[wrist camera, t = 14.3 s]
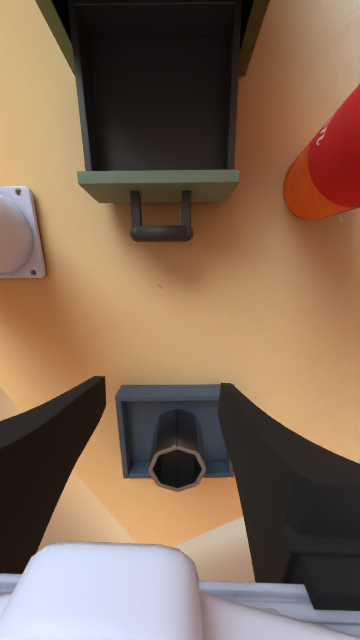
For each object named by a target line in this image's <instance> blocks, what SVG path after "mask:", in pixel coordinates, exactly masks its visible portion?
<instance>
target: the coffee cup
mask: <svg viewBox="0 0 360 640" xmlns="http://www.w3.org/2000/svg"><path fill="white" fill-rule="evenodd" d="M284 196H285V200H286V203H287V206H288V207H289V209H290V210H291V211H292V213H293V214H295V215H296V216H297V217H299V218H301V219H305V220H318V219H322V218H326V217H329V216H333V215H336V214H339V213H342V212H346V211H349V210H352V209H355V208H358V207H360V84H359V85H358V87H357V88H356V89H355V90H354V91H353V92H352V94H351V95H350V96H349V97H348V98H347V99H346V101H345V102H344V103H343V104H342V105H341V106H340V108H339V109H338V110H337V111H336V112H335V113H334V114H333V116H332V117H331V118H330V119H329V120H328V122H327V123H326V124H325V125H324V126H323V127H322V129H321V130H320V131H319V132H318V133H317V134H316V136H315V137H314V138H313V139H312V140H311V142H310V143H309V144H308V145H307V146H306V147H305V149H304V150H303V151H302V152H301V154H300V155H299V156H298V157H297V159H296V160H295V161H294V163H293V164H292V166H291V167H290V169H289V171H288V173H287V176H286V179H285V183H284Z"/></svg>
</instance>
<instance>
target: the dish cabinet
mask: <svg viewBox="0 0 360 640" xmlns="http://www.w3.org/2000/svg"><path fill="white" fill-rule="evenodd" d="M35 1H36V3H37V5H38V6H39V8H40V10H41V12H42V14H43V16H44V18H45V20H46V22H47V24H48V26H49V28H50V29H51V31H52V33H53V35H54V37H55V39H56V41H57V43H58V45H59V47H60V49H61V51H62V52H63V54H64V56H65V58H66V60H67V62H68V64H69V66H70V68H71V70H72V72H73V73H74V75H75V67H74V58H73V49H72V40H71V31H70V22H69V12H68V3H67V0H35ZM269 1H270V0H242V9H241V30H240V51H239V72H238V76H245V74H246V71H247V68H248V65H249V62H250V59H251V56H252V53H253V50H254V47H255V44H256V41H257V37H258V34H259V31H260V28H261V25H262V22H263V19H264V16H265V13H266V10H267V7H268V4H269Z"/></svg>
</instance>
